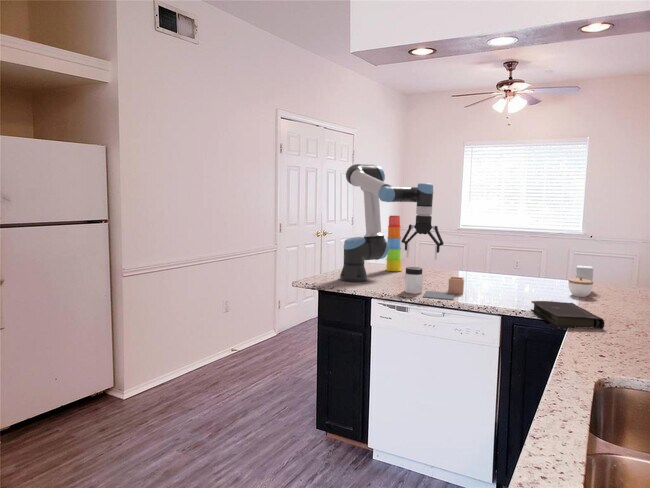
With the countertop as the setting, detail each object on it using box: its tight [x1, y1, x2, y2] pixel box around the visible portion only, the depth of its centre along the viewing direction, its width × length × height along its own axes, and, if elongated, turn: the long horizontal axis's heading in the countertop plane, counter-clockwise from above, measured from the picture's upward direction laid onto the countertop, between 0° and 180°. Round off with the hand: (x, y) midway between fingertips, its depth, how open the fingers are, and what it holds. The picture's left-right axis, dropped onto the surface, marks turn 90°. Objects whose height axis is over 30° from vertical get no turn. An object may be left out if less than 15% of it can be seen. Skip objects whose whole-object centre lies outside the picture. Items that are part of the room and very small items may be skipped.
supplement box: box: [575, 265, 594, 292], centre depth 244 cm, size 7×7×13 cm
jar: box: [403, 266, 424, 295], centre depth 232 cm, size 9×8×12 cm
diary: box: [530, 300, 605, 329], centre depth 188 cm, size 19×25×5 cm
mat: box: [422, 290, 456, 301], centre depth 226 cm, size 14×14×1 cm
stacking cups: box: [385, 215, 403, 272], centre depth 293 cm, size 10×10×35 cm
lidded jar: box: [568, 277, 594, 298], centre depth 232 cm, size 11×11×9 cm
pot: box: [447, 276, 465, 295], centre depth 235 cm, size 7×7×7 cm
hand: (421, 258), depth 232 cm, fingers open, 13 cm apart
